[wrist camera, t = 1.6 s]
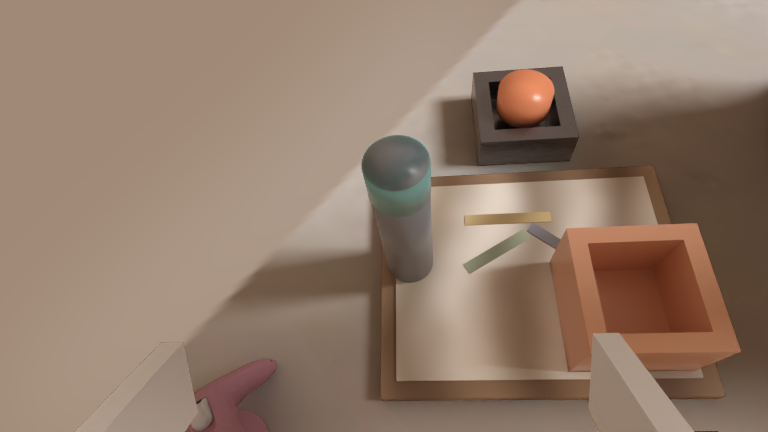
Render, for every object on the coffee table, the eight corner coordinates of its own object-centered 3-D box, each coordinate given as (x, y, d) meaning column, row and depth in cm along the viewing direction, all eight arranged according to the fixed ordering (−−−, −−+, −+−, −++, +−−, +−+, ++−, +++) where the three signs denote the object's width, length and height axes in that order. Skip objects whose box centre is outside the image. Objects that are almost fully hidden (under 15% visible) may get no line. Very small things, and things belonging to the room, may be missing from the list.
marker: (432, 238, 34) (429, 133, 23) (435, 282, 32) (432, 190, 22) (386, 240, 34) (362, 137, 24) (386, 284, 33) (360, 194, 22)
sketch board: (648, 173, 36) (654, 163, 35) (717, 398, 28) (728, 395, 27) (384, 186, 38) (382, 177, 37) (382, 400, 30) (380, 398, 29)
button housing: (554, 92, 40) (562, 66, 38) (569, 160, 37) (579, 137, 35) (471, 98, 41) (473, 72, 39) (478, 165, 38) (481, 142, 35)
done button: (544, 86, 38) (549, 67, 36) (552, 126, 36) (558, 108, 34) (493, 89, 38) (496, 71, 36) (498, 129, 36) (501, 112, 34)
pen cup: (661, 257, 31) (697, 223, 27) (694, 370, 28) (741, 351, 24) (549, 261, 32) (566, 228, 28) (568, 372, 29) (591, 353, 24)
